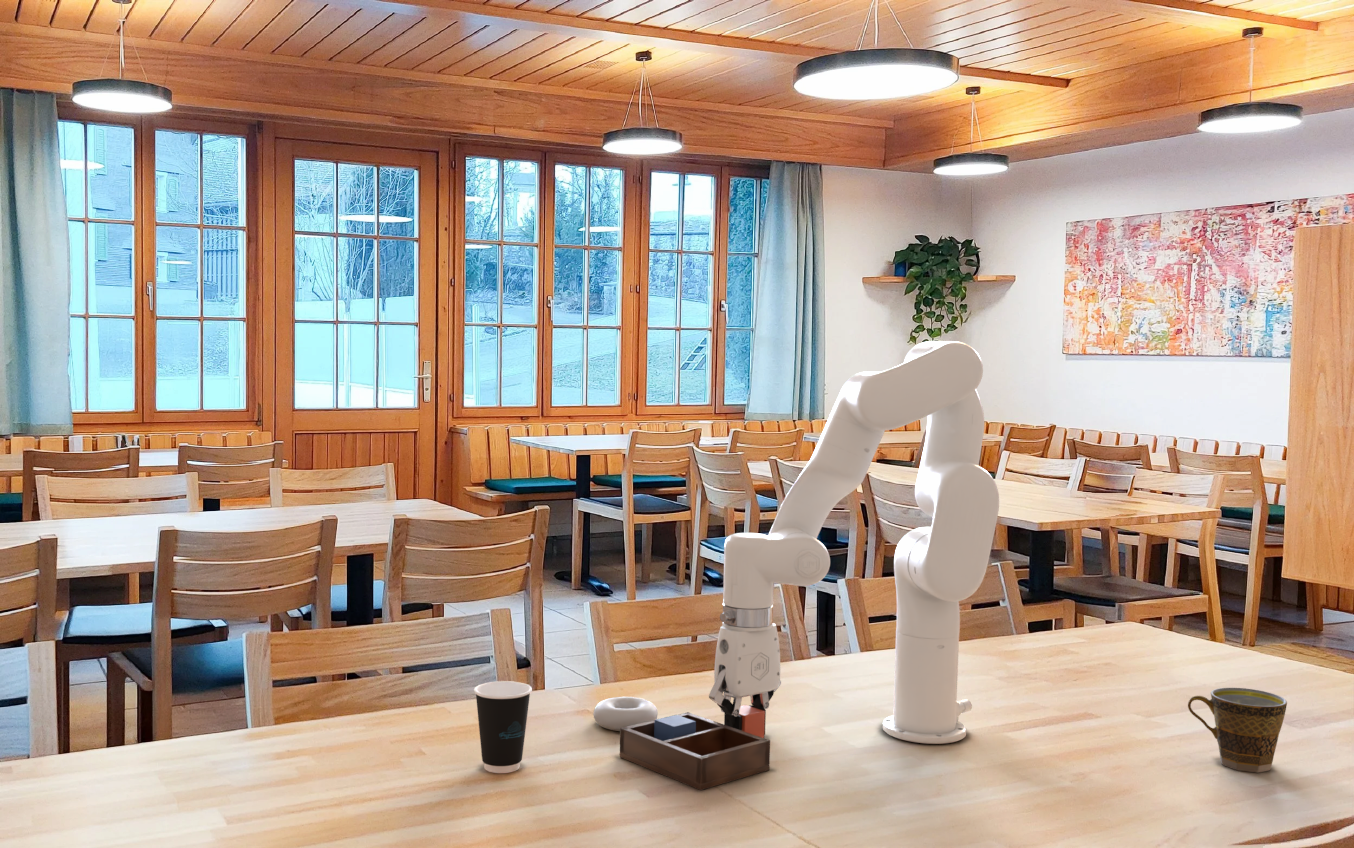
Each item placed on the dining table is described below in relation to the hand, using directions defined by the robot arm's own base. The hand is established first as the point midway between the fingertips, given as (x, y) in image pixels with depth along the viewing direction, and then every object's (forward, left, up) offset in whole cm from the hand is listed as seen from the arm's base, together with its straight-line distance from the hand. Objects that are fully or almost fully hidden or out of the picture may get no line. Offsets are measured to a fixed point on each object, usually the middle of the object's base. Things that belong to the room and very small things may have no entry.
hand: (744, 735), depth 187 cm
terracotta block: (0, 0, 0) cm, 0 cm away
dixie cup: (+36, -11, -1) cm, 38 cm away
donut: (+10, -16, -1) cm, 19 cm away
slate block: (+14, 0, +1) cm, 14 cm away
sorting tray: (+14, +4, 0) cm, 15 cm away
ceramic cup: (-48, +52, -1) cm, 71 cm away
